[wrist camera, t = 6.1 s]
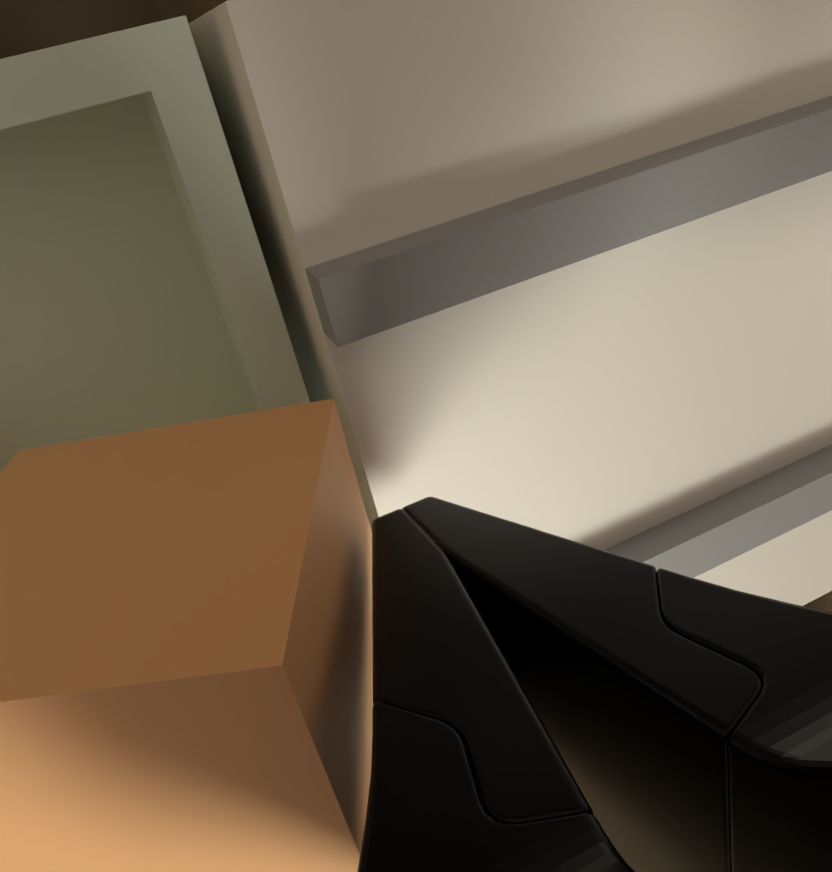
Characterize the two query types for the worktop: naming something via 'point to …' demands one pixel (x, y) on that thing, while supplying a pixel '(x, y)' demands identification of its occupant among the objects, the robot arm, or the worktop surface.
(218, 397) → the tray
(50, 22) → the worktop surface
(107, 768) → the orange-brown cube
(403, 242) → the slot board
